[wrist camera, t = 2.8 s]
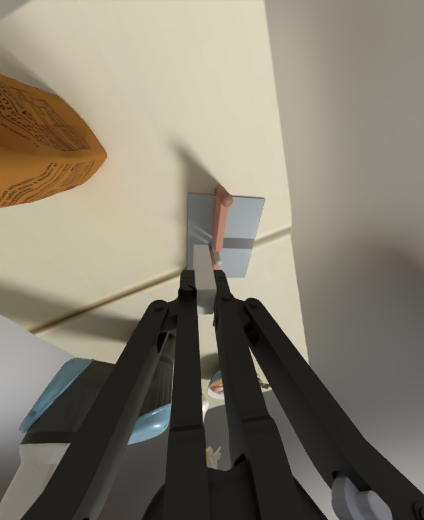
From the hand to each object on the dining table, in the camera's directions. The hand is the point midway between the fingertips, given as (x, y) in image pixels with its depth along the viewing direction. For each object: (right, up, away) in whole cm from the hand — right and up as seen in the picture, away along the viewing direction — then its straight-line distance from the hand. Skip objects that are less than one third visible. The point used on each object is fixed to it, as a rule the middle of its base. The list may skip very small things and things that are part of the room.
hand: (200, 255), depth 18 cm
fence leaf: (+2, +9, +15) cm, 18 cm away
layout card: (+3, +4, +20) cm, 20 cm away
